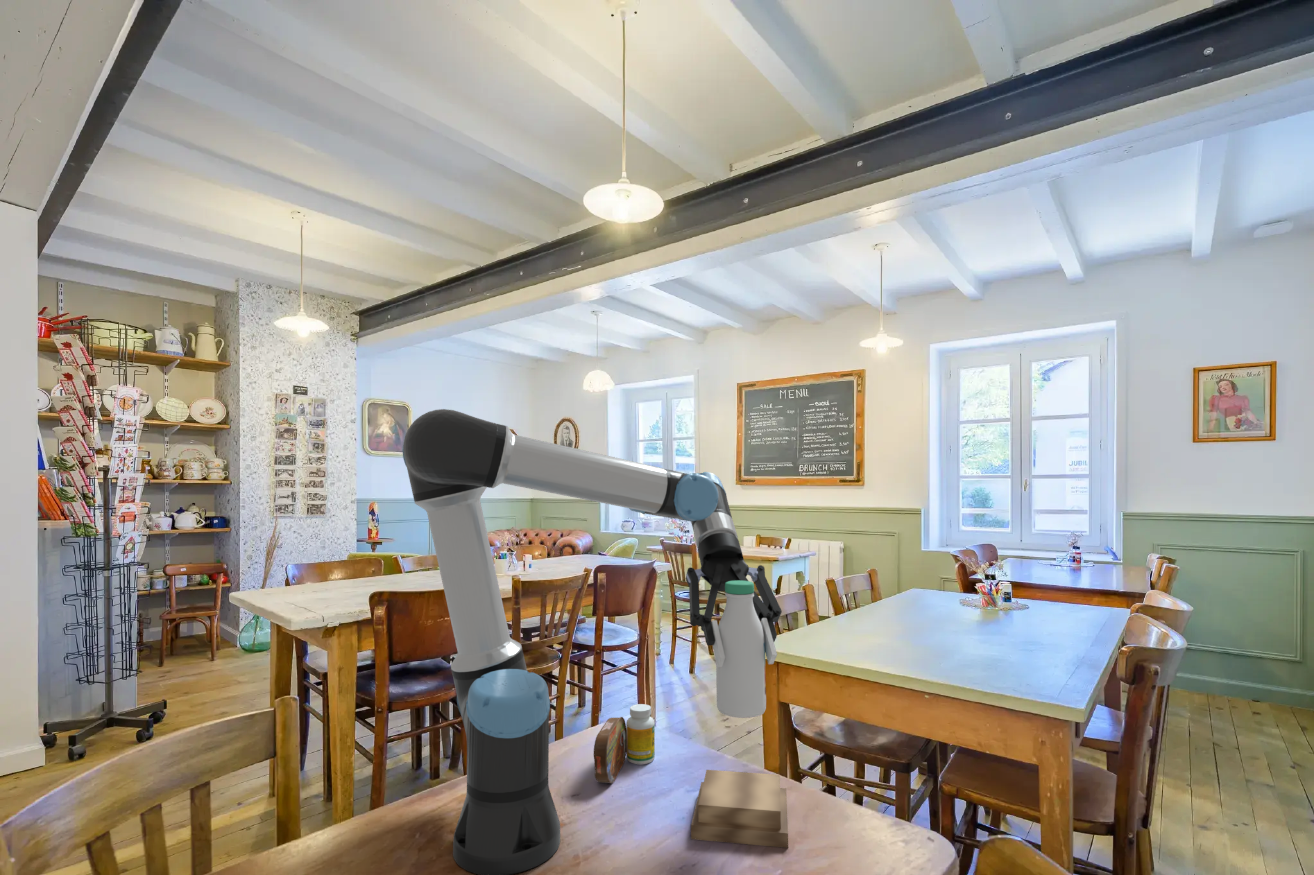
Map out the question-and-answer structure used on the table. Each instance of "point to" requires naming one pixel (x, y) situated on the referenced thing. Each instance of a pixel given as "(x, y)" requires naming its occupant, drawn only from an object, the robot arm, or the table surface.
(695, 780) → the table surface
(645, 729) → the supplement bottle
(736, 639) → the milk bottle
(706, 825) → the plinth
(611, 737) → the tin
